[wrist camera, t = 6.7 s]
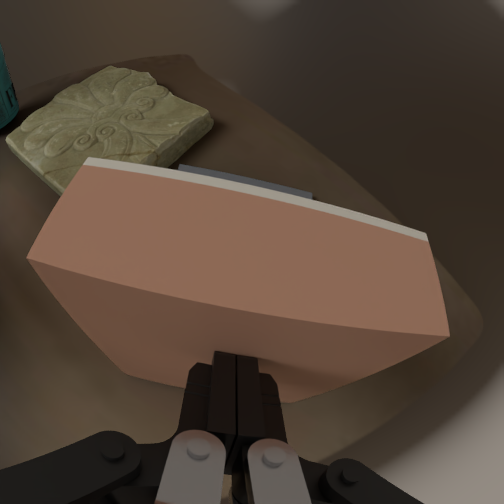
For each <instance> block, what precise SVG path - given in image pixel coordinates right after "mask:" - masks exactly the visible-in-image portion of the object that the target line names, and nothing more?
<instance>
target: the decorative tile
mask: <svg viewBox="0 0 504 504" xmlns="http://www.w3.org/2000/svg"><path fill="white" fill-rule="evenodd" d="M213 124H214V120H213V119H212V118H211V117H210V113H209V111H208V110H206V109H204V108H202V107H200V106H197V105H195V104H192V103H189V102H187V101H184V100H183V99H180V98H178V97H176V96H174V95H172V93H171V92H169V91H168V89H167V88H165V87H163V86H159V85H156V80H155V79H154V78H152V77H151V76H150V74H149V73H148V72H141V73H140V72H136V71H133V70H129V69H126V68H115V67H112V66H109V67H107V68H105V69H103V70H101V71H99V72H97V73H96V74H94V75H92V76H90V77H89V78H87V79H85V80H84V81H82V82H81V83H79V84H74V85H72V86H70V87H68V88H67V89H65V90H63V91H61V92H60V93H58V94H57V95H56V96H55V97H54V99H53V100H52V101H51V102H50V103H48V104H47V105H46V106H45V107H42V108H40V109H38V110H36V111H35V112H33V113H32V114H31V115H30V116H28V117H27V118H26V119H25V120H24V121H23V123H22V124H21V126H20V127H18V128H17V129H15V130H14V131H13V132H11V133H10V134H9V135H8V136H7V138H6V142H7V144H8V146H9V147H10V149H11V151H12V152H13V153H14V154H15V155H16V156H17V157H18V158H19V159H20V160H21V161H22V162H23V163H24V164H25V165H27V166H28V167H29V168H30V169H31V170H32V171H33V172H34V173H35V174H36V175H37V176H38V177H39V178H40V179H41V180H43V181H44V182H45V183H46V184H47V185H48V186H49V187H50V188H51V189H53V190H54V191H55V192H56V193H57V194H58V195H59V196H62V194H63V193H64V191H65V190H66V188H67V186H68V185H69V184H70V182H71V181H72V179H73V178H74V176H75V175H76V173H77V172H78V170H79V169H80V168H81V166H82V165H83V164H84V162H85V161H86V159H87V158H88V157H92V158H100V159H108V160H115V161H122V162H129V163H136V164H142V165H148V166H155V167H161V168H166V169H167V168H168V167H169V166H170V165H171V164H173V163H174V162H175V161H176V160H177V159H178V158H179V157H180V156H181V155H183V154H184V153H185V152H186V151H187V150H188V149H189V148H190V147H191V146H192V145H193V144H195V143H196V142H197V141H198V140H199V139H201V138H202V137H203V136H204V135H205V134H206V133H207V132H209V131H210V130H211V129H212V126H213Z"/></svg>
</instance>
